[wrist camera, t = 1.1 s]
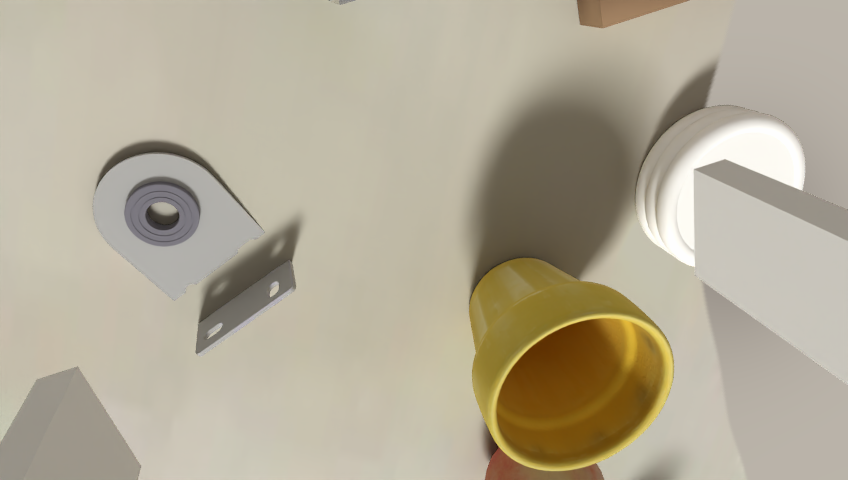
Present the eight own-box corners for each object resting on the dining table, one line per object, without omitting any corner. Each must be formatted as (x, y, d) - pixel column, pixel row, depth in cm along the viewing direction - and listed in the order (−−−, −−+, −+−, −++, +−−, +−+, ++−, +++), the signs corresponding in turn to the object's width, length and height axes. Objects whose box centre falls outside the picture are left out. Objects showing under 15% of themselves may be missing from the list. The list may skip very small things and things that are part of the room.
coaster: (743, 246, 42) (782, 268, 38) (618, 252, 39) (648, 276, 36) (786, 104, 38) (832, 115, 34) (649, 102, 35) (685, 114, 32)
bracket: (169, 123, 30) (158, 140, 27) (294, 261, 34) (296, 289, 31) (67, 198, 30) (44, 223, 27) (204, 325, 35) (198, 359, 32)
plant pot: (478, 393, 41) (533, 504, 32) (412, 284, 36) (456, 380, 28) (606, 320, 41) (696, 412, 32) (557, 201, 36) (647, 272, 28)
